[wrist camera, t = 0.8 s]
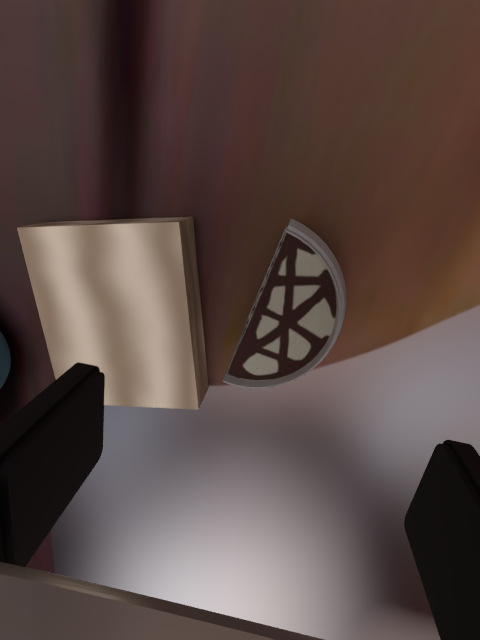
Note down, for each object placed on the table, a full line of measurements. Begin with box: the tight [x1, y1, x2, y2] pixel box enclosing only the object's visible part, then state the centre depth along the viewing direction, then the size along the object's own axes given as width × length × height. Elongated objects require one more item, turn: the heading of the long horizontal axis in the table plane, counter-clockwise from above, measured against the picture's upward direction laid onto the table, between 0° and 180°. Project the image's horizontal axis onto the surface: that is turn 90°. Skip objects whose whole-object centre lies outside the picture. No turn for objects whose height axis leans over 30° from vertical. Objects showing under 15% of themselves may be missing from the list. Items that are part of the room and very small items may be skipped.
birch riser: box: [17, 217, 209, 410], centre depth 35 cm, size 14×17×4 cm
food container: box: [223, 218, 347, 388], centre depth 29 cm, size 12×6×10 cm, turn 159°
